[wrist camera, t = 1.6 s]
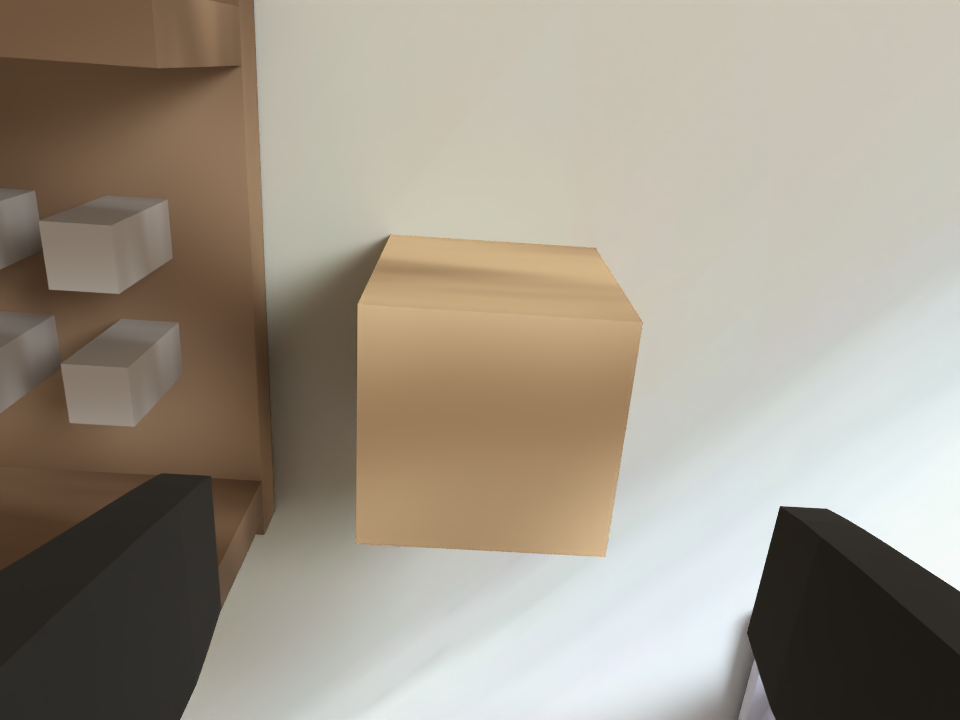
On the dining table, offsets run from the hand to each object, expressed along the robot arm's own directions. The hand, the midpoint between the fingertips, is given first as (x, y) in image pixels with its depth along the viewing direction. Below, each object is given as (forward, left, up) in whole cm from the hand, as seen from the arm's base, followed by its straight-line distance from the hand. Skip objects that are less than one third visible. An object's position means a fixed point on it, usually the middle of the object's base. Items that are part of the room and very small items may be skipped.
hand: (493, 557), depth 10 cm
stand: (+1, +8, -8) cm, 12 cm away
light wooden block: (0, 0, -8) cm, 8 cm away
